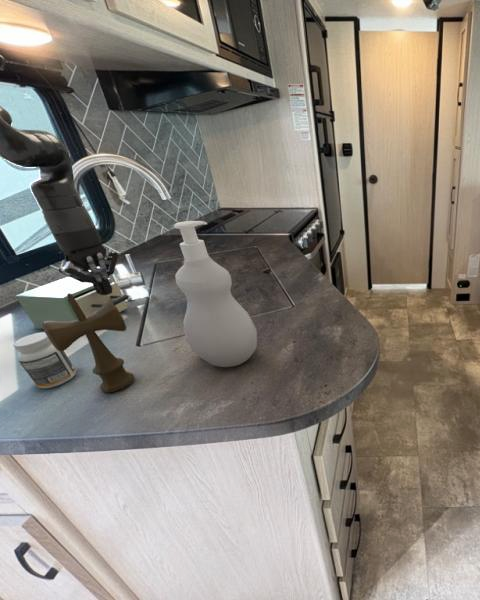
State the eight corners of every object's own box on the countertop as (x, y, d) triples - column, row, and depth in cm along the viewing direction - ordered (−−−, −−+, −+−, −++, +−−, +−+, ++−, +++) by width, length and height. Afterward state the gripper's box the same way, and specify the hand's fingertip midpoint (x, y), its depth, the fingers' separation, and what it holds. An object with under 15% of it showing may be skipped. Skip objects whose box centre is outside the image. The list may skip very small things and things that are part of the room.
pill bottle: (48, 374, 65) (21, 334, 60) (83, 367, 66) (59, 328, 62) (30, 393, 60) (-1, 350, 55) (68, 385, 62) (41, 343, 57)
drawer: (143, 308, 88) (131, 283, 85) (106, 329, 79) (91, 301, 75) (90, 305, 90) (77, 280, 87) (47, 325, 81) (31, 298, 77)
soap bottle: (276, 352, 70) (245, 220, 57) (231, 384, 61) (180, 236, 48) (227, 334, 77) (188, 213, 64) (179, 360, 68) (123, 225, 55)
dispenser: (124, 309, 90) (110, 278, 86) (81, 331, 79) (62, 297, 75) (84, 306, 92) (67, 276, 87) (36, 328, 81) (15, 295, 77)
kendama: (153, 377, 63) (110, 287, 54) (91, 407, 56) (29, 309, 47) (143, 366, 66) (100, 279, 57) (83, 392, 60) (24, 299, 50)
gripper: (87, 220, 79) (117, 283, 87) (25, 234, 67) (66, 305, 75) (113, 220, 78) (141, 284, 86) (55, 235, 66) (93, 306, 74)
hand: (106, 294), depth 81 cm, fingers closed
